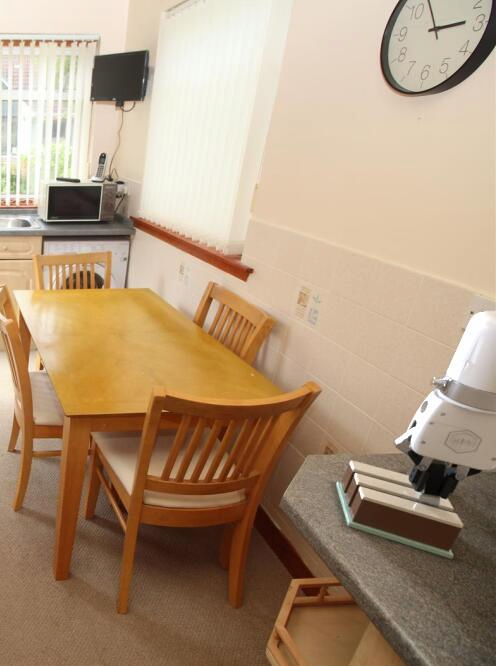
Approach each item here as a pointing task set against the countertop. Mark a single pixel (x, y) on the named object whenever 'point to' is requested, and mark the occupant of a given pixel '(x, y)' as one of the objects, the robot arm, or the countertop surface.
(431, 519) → the slatted panel
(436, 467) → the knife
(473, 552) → the countertop surface
